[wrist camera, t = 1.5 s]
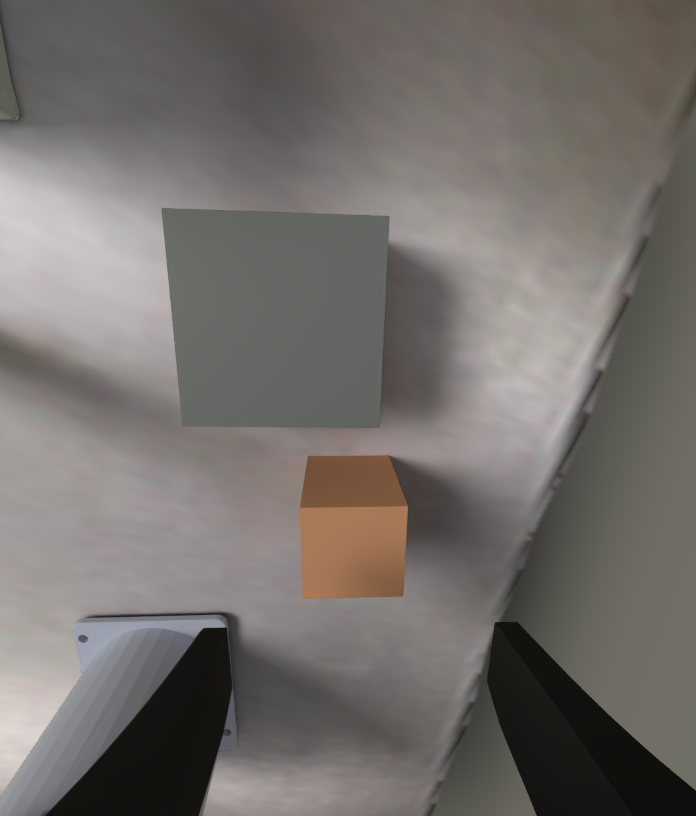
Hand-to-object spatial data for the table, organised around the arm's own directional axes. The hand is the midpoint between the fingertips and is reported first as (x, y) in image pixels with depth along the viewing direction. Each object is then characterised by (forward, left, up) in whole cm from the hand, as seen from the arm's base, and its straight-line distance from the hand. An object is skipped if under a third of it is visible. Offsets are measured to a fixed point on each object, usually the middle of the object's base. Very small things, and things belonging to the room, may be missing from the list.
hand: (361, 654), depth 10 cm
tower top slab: (+8, +3, -8) cm, 11 cm away
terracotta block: (0, 0, -10) cm, 10 cm away
